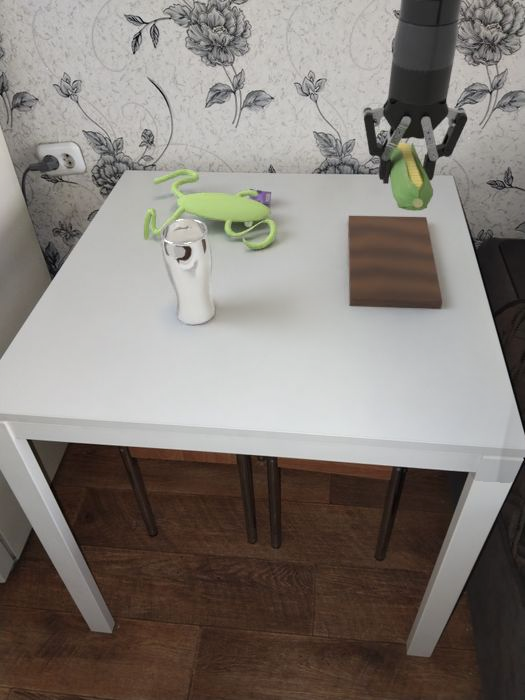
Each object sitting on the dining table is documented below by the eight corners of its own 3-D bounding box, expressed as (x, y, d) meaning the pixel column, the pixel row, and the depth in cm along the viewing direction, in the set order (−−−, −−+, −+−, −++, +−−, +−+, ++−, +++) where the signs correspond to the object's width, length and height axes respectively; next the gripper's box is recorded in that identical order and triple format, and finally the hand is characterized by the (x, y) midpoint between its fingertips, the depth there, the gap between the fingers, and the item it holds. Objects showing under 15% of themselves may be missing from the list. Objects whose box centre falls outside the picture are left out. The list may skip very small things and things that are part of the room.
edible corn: (395, 221, 79) (400, 190, 76) (378, 152, 93) (381, 124, 90) (434, 220, 79) (440, 189, 76) (411, 152, 93) (415, 123, 90)
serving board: (440, 308, 91) (442, 301, 90) (349, 305, 92) (350, 298, 91) (425, 224, 108) (426, 216, 107) (348, 222, 109) (348, 215, 108)
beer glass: (216, 326, 90) (206, 244, 80) (171, 327, 90) (155, 245, 80) (219, 297, 95) (210, 216, 84) (176, 298, 95) (162, 217, 85)
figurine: (165, 188, 121) (161, 163, 117) (292, 200, 116) (292, 174, 112) (129, 238, 108) (123, 211, 104) (270, 254, 103) (269, 227, 99)
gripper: (366, 68, 72) (355, 193, 84) (487, 67, 71) (459, 195, 82) (364, 47, 77) (354, 168, 89) (476, 47, 76) (451, 169, 88)
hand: (404, 180), depth 86 cm, fingers closed on edible corn, 5 cm apart
